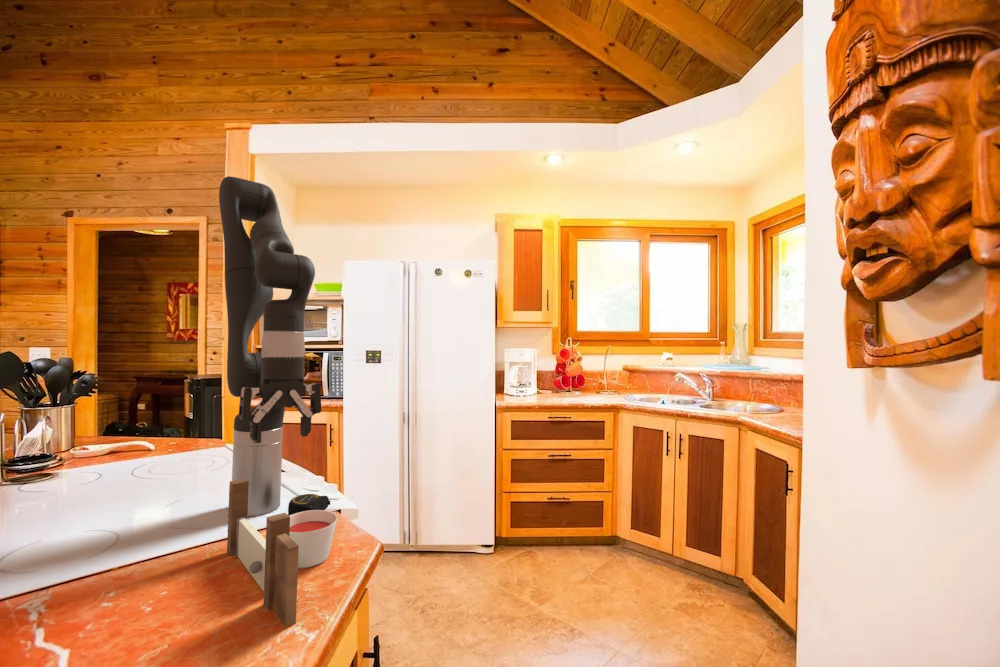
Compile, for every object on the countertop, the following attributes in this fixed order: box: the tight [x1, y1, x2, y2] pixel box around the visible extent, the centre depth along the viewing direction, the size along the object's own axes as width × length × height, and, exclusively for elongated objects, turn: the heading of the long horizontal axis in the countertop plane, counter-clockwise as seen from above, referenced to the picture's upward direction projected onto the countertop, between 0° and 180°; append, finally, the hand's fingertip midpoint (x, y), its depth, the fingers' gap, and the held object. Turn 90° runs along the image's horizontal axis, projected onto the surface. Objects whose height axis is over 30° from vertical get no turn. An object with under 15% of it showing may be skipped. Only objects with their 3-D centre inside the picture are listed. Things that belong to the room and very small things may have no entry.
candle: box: [289, 509, 338, 569], centre depth 72 cm, size 9×9×6 cm
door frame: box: [226, 479, 299, 627], centre depth 65 cm, size 26×2×12 cm, turn 45°
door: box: [235, 518, 266, 592], centre depth 67 cm, size 15×3×6 cm, turn 45°
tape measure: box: [287, 493, 331, 516], centre depth 89 cm, size 7×7×4 cm
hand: (281, 439), depth 83 cm, fingers open, 8 cm apart
